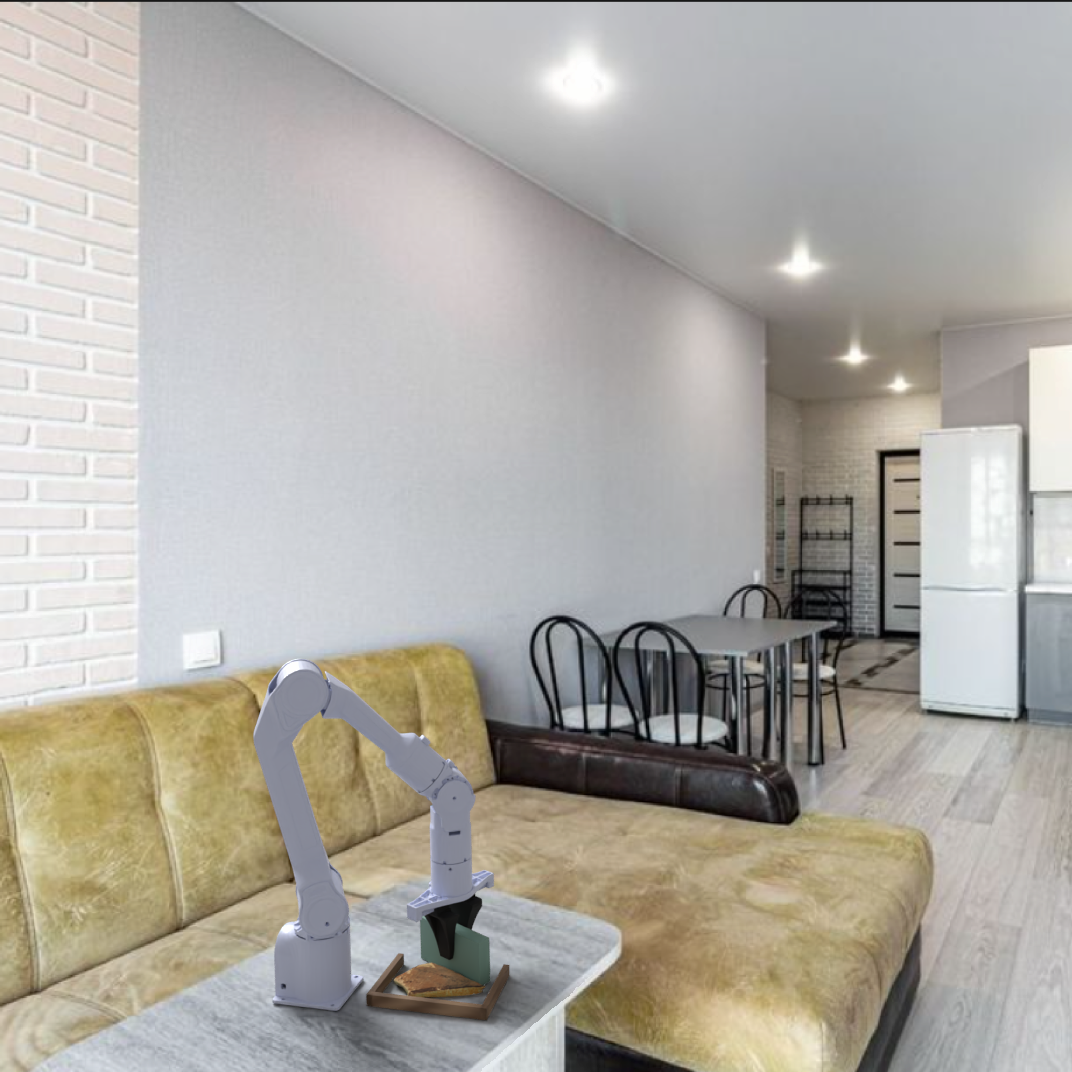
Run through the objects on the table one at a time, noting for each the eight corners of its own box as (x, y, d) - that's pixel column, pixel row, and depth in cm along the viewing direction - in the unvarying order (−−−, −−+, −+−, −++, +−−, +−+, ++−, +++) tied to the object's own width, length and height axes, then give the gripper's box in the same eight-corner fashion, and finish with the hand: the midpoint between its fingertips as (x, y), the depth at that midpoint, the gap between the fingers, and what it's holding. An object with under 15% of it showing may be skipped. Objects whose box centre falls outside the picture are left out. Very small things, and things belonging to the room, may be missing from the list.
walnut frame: (366, 1005, 114) (366, 994, 114) (398, 963, 125) (398, 953, 125) (486, 1020, 110) (486, 1008, 110) (509, 975, 121) (509, 964, 121)
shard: (486, 996, 117) (485, 983, 117) (443, 1023, 111) (443, 1009, 111) (430, 970, 124) (429, 957, 124) (387, 993, 118) (387, 980, 118)
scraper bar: (490, 981, 119) (489, 937, 119) (479, 987, 118) (478, 943, 118) (431, 952, 128) (430, 911, 127) (421, 958, 126) (419, 916, 126)
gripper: (469, 834, 130) (471, 925, 131) (391, 865, 120) (394, 964, 120) (503, 846, 126) (505, 940, 126) (425, 879, 115) (428, 982, 115)
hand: (453, 953), depth 123 cm, fingers closed on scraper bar, 2 cm apart
